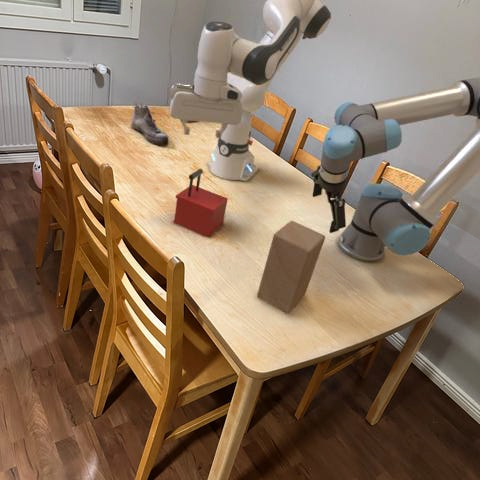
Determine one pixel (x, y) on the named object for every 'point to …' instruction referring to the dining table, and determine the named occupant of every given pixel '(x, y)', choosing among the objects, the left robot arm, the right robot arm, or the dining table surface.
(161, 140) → the shoe
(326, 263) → the dining table surface
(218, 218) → the chest
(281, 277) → the wooden block
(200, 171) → the lid
